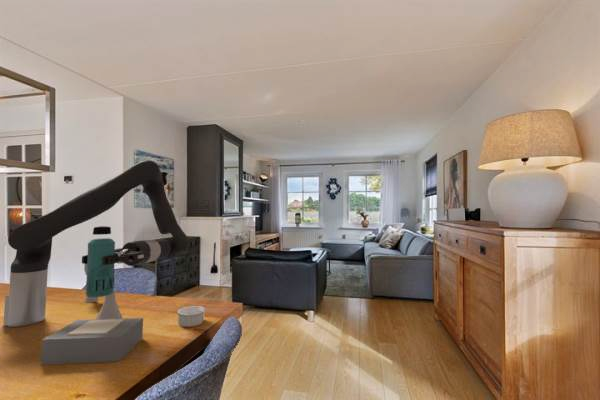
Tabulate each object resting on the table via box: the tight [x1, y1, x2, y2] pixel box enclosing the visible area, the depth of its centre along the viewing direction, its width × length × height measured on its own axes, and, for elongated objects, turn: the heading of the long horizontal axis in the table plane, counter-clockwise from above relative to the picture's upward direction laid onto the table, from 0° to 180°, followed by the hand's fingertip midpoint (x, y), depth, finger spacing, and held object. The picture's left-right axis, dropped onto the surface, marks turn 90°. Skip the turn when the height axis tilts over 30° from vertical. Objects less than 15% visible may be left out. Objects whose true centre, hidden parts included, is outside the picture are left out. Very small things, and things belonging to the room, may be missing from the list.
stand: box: [40, 317, 144, 366], centre depth 76 cm, size 18×13×6 cm
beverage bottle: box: [85, 225, 116, 298], centre depth 77 cm, size 6×7×20 cm
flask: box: [95, 289, 123, 319], centre depth 97 cm, size 7×7×10 cm
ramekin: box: [177, 305, 206, 328], centre depth 96 cm, size 9×9×4 cm
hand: (93, 260), depth 74 cm, fingers closed on beverage bottle, 6 cm apart
